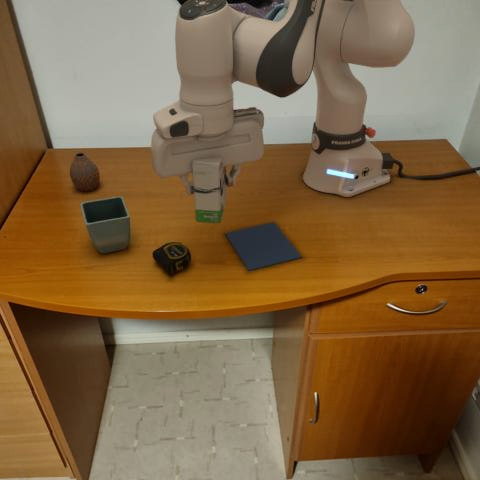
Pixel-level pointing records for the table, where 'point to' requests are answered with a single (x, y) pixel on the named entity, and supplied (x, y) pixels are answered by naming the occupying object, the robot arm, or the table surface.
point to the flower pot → (107, 223)
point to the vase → (84, 172)
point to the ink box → (209, 189)
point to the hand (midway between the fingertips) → (210, 188)
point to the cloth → (262, 246)
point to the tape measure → (172, 257)
